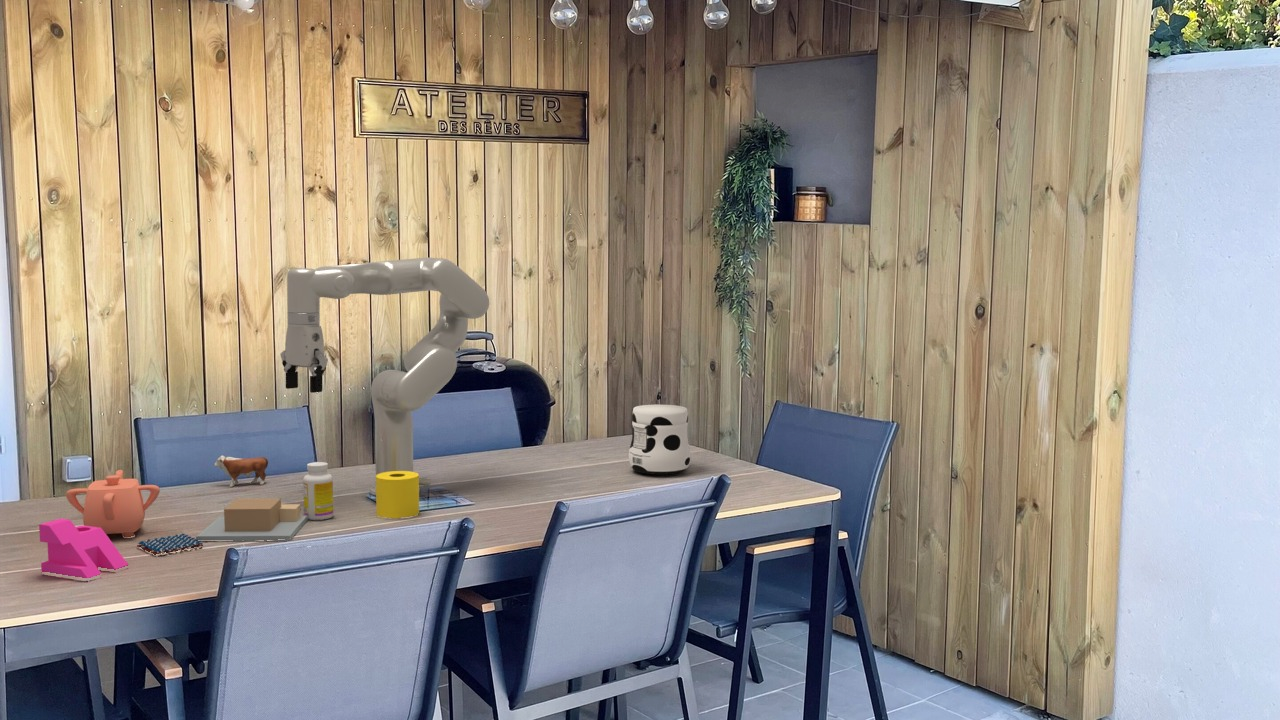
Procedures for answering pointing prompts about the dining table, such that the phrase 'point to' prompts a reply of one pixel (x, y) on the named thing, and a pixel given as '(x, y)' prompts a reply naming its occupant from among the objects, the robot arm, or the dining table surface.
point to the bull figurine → (243, 468)
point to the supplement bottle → (318, 492)
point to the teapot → (114, 504)
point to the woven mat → (169, 544)
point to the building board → (251, 535)
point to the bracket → (78, 549)
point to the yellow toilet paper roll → (397, 494)
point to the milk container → (659, 439)
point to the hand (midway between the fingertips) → (303, 390)
